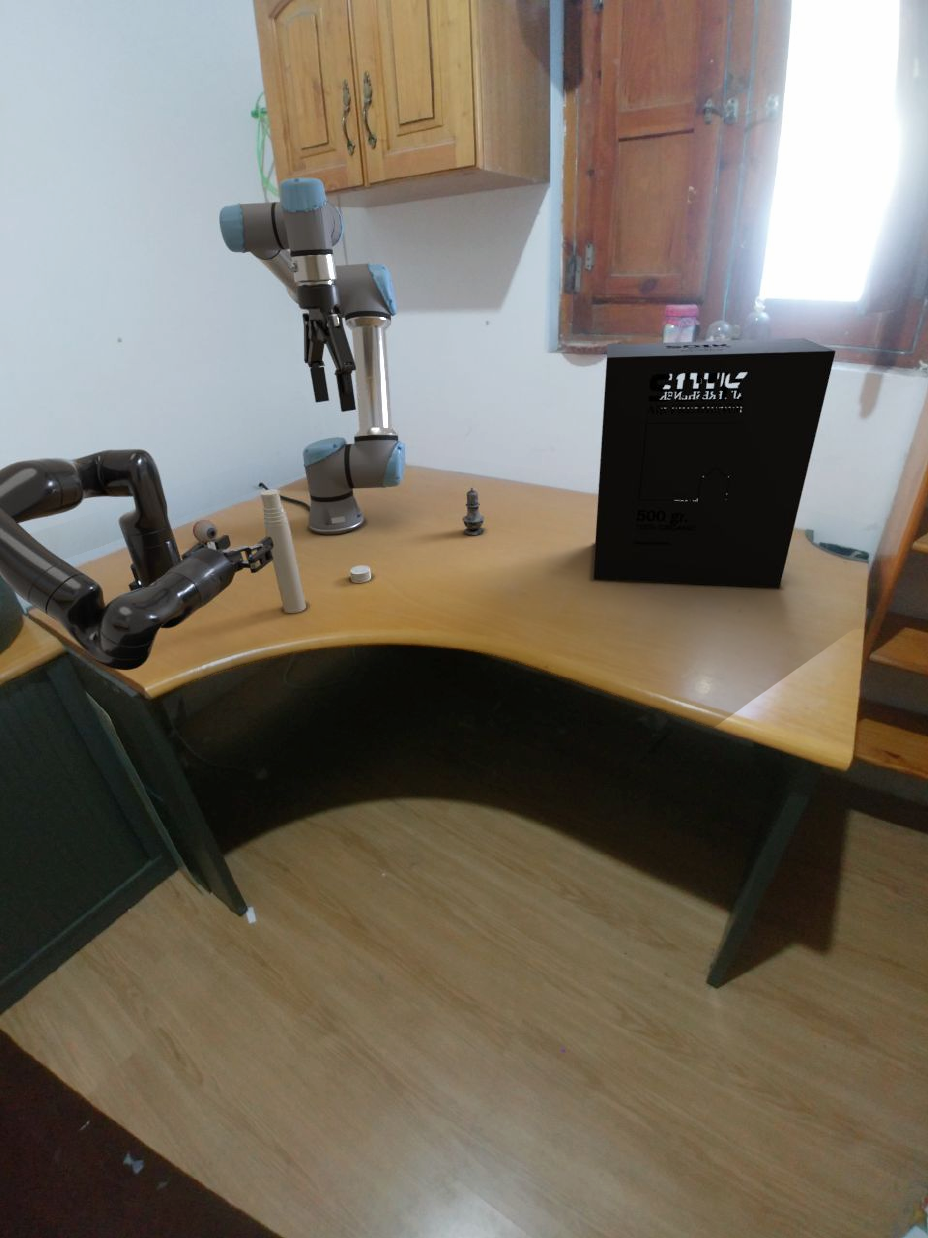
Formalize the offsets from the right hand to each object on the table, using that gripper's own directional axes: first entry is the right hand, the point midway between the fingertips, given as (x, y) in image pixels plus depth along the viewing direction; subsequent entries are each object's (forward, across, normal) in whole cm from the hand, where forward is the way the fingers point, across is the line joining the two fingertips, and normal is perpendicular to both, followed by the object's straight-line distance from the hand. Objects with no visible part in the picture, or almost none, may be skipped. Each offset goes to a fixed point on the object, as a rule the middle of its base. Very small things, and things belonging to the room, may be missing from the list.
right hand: (335, 405), depth 120 cm
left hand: (+18, +11, -24) cm, 33 cm away
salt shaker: (+38, -7, +36) cm, 53 cm away
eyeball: (+38, -47, -24) cm, 65 cm away
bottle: (+38, +4, -17) cm, 42 cm away
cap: (+36, 0, 0) cm, 36 cm away
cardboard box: (+38, +40, +61) cm, 82 cm away
